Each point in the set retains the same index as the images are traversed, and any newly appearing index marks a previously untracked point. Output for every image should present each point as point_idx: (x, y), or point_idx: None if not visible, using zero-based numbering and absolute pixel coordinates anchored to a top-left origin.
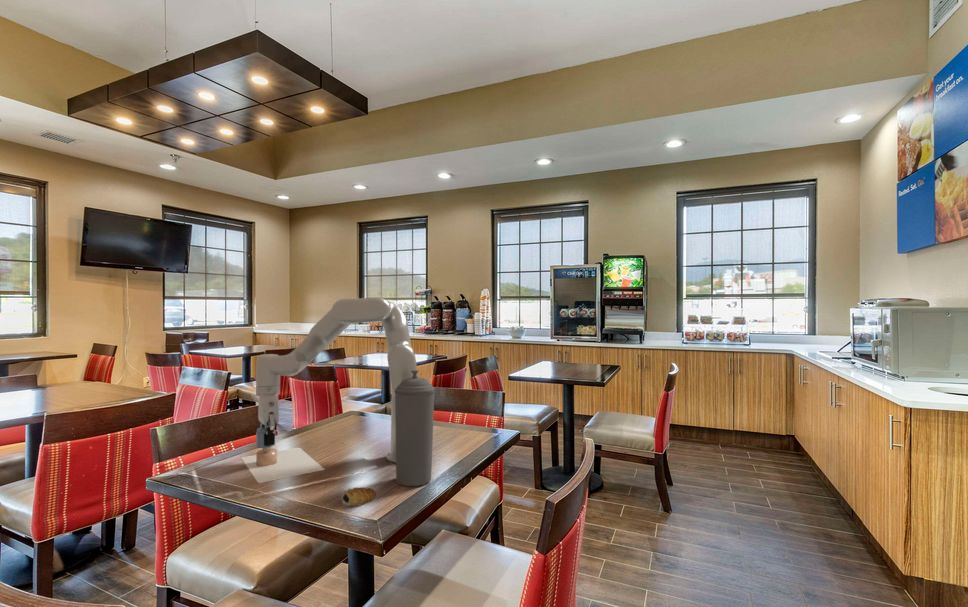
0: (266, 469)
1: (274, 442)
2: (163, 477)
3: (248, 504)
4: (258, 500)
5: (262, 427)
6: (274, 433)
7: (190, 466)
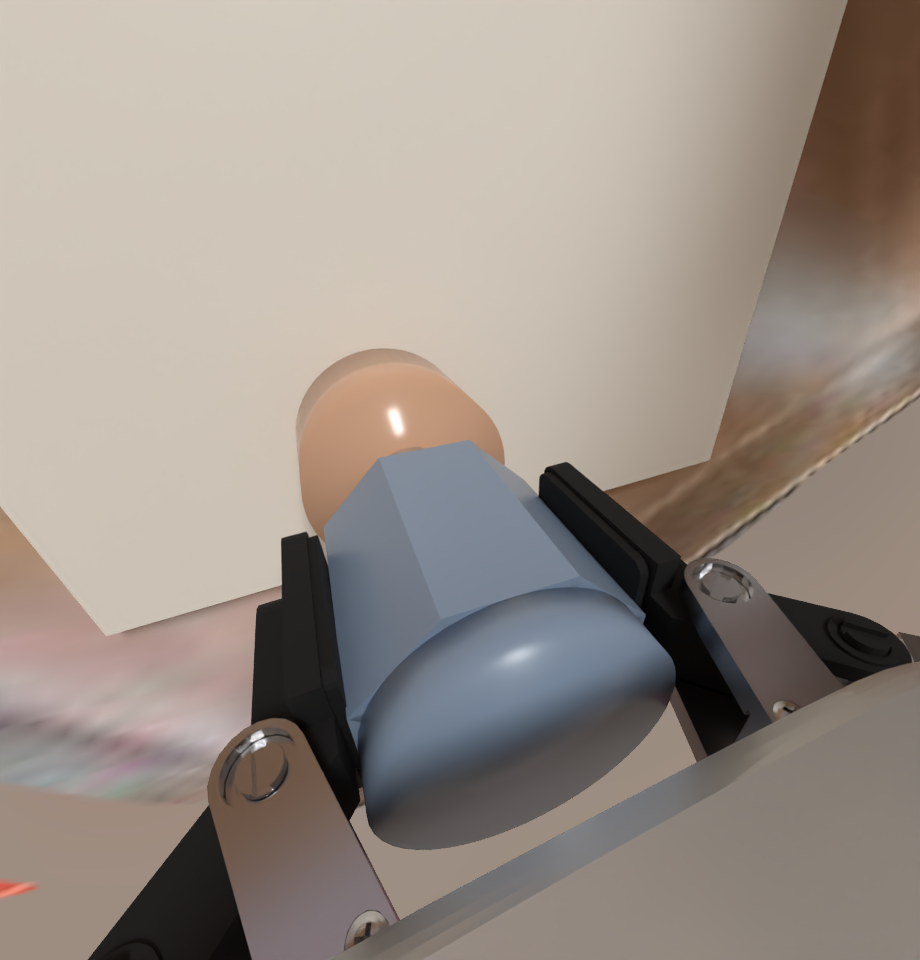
0: (533, 430)
1: (575, 471)
2: None
3: (809, 472)
4: (811, 443)
5: (432, 819)
6: (670, 552)
7: (182, 801)
